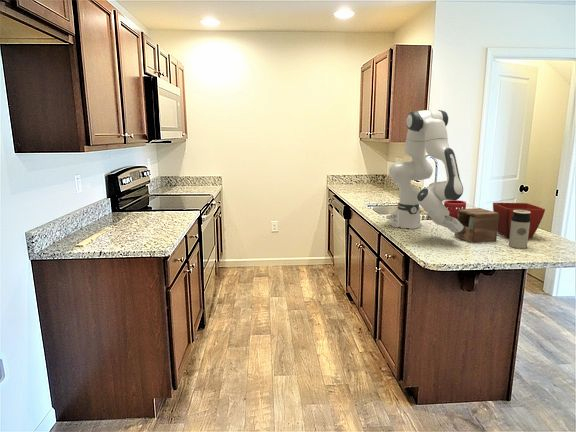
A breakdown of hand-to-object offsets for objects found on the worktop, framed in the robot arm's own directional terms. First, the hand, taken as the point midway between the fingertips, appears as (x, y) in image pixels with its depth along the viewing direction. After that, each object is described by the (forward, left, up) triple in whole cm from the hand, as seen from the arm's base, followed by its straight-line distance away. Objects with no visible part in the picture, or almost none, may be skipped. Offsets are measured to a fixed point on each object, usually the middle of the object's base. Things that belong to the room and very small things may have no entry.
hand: (454, 231), depth 209 cm
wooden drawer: (0, +11, -4) cm, 12 cm away
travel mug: (+18, +23, -5) cm, 30 cm away
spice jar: (0, +11, -4) cm, 12 cm away
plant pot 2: (0, +38, -5) cm, 39 cm away
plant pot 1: (-44, +32, -5) cm, 55 cm away
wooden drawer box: (0, +13, -5) cm, 14 cm away
